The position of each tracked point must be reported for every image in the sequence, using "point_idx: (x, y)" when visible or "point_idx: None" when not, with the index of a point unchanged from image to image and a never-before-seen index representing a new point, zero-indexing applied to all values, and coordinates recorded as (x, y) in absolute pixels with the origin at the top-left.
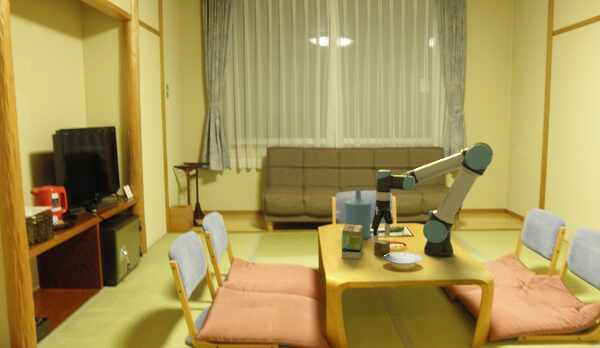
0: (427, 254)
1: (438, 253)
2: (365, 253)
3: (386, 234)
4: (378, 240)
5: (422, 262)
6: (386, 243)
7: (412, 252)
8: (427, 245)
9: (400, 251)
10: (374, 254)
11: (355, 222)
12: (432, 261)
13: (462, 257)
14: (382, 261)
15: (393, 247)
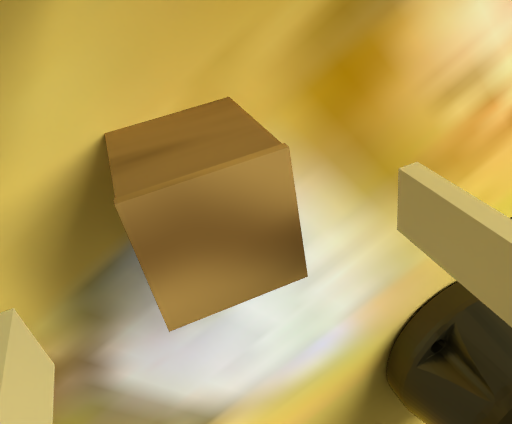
0: (397, 342)
1: (404, 404)
2: (39, 22)
3: (411, 206)
4: (229, 180)
5: (256, 419)
6: (211, 310)
7: (394, 263)
8: (462, 357)
9: (367, 202)
10: (106, 136)
11: None
12: (310, 420)
13: None
14: None
15: (435, 85)
